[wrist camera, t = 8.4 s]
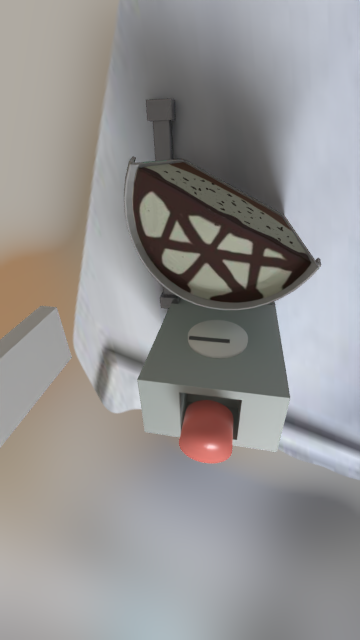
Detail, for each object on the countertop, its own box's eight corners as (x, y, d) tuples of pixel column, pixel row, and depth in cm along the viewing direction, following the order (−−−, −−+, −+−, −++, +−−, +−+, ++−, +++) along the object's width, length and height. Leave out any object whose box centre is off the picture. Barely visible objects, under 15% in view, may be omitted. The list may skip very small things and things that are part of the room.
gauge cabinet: (275, 300, 28) (291, 392, 18) (267, 350, 31) (276, 452, 21) (173, 293, 30) (136, 374, 20) (175, 341, 33) (144, 431, 23)
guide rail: (174, 100, 21) (171, 98, 20) (180, 303, 30) (178, 309, 29) (150, 101, 21) (145, 99, 20) (163, 302, 30) (160, 307, 29)
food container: (139, 220, 26) (90, 260, 18) (165, 149, 23) (119, 158, 15) (257, 283, 27) (262, 348, 19) (300, 224, 24) (327, 272, 16)
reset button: (235, 403, 19) (233, 434, 17) (231, 435, 21) (230, 466, 19) (185, 396, 20) (178, 426, 18) (185, 428, 22) (179, 458, 20)
